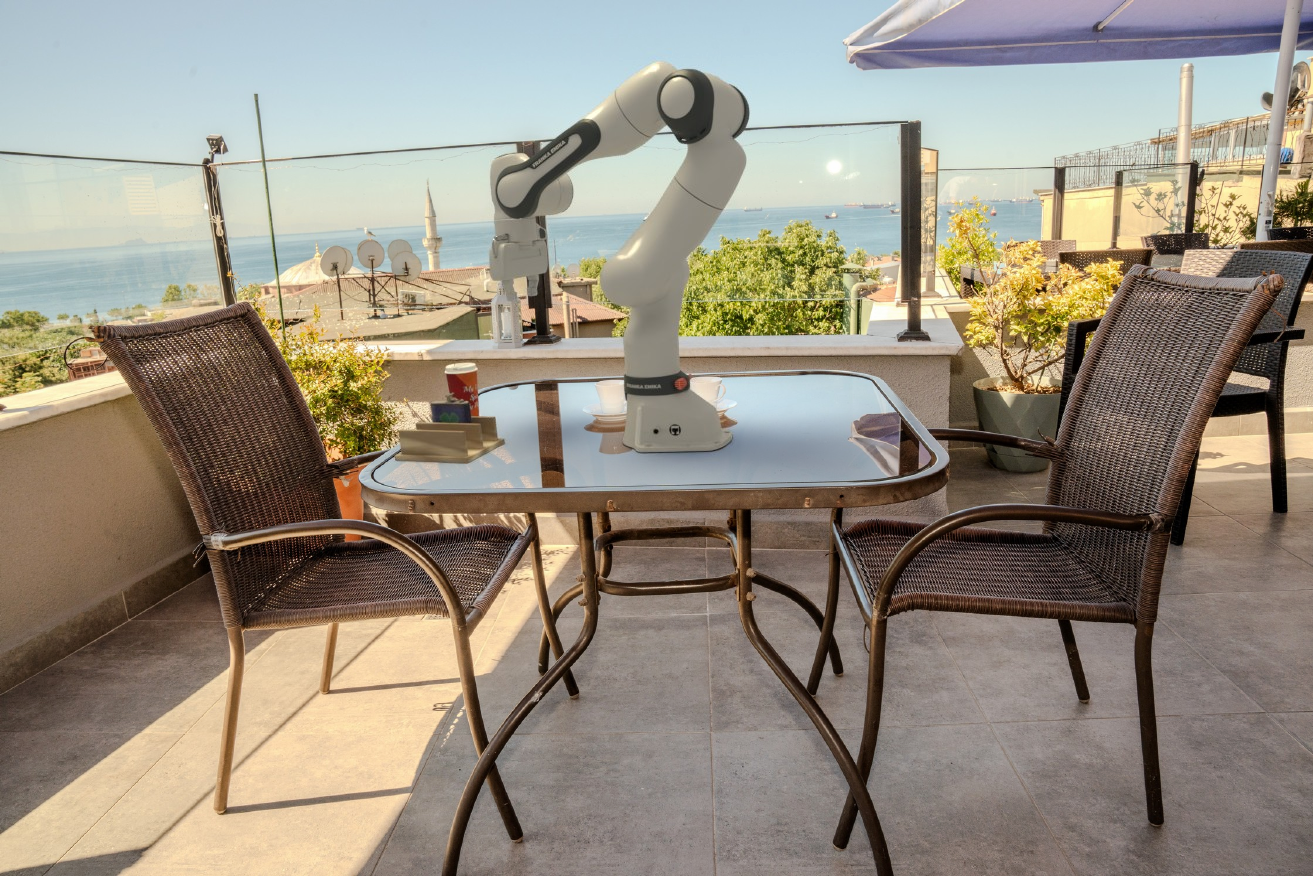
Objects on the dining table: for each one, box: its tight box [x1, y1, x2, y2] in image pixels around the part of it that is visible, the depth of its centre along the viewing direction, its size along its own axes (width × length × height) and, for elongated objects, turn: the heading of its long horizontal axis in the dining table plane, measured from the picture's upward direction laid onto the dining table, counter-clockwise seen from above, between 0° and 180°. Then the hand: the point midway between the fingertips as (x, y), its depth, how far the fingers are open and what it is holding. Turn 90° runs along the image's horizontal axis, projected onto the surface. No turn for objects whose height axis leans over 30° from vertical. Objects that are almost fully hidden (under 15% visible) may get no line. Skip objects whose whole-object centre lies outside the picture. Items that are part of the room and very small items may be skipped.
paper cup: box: [444, 362, 480, 416], centre depth 203 cm, size 8×8×14 cm
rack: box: [394, 415, 506, 464], centre depth 180 cm, size 15×17×6 cm
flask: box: [430, 393, 472, 423], centre depth 182 cm, size 9×3×11 cm, turn 70°
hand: (522, 298), depth 189 cm, fingers open, 8 cm apart
